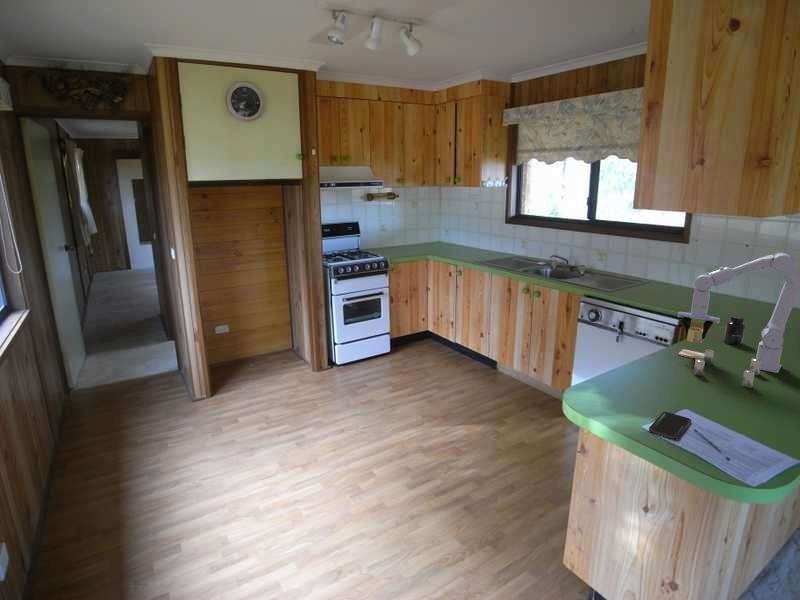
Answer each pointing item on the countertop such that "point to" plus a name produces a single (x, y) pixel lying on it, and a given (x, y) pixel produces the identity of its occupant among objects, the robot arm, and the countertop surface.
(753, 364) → the steel spacers
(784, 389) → the countertop surface
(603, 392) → the countertop surface
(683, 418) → the phone
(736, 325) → the supplement bottle
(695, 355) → the oak pad
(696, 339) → the brass nut
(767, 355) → the robot arm
